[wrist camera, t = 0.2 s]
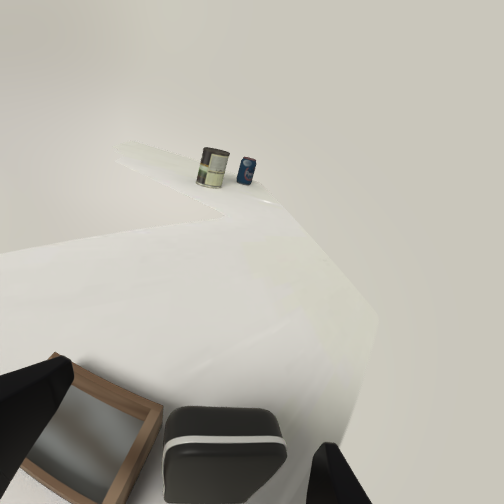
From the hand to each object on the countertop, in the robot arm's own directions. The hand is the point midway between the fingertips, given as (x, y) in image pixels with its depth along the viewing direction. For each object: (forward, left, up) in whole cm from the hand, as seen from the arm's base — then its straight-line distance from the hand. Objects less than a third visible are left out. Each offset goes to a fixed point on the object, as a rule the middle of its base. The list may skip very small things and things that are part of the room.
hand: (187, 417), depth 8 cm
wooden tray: (+3, +9, -16) cm, 19 cm away
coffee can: (+106, +28, -17) cm, 111 cm away
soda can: (+128, +18, -17) cm, 130 cm away
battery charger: (+4, -2, -17) cm, 17 cm away
